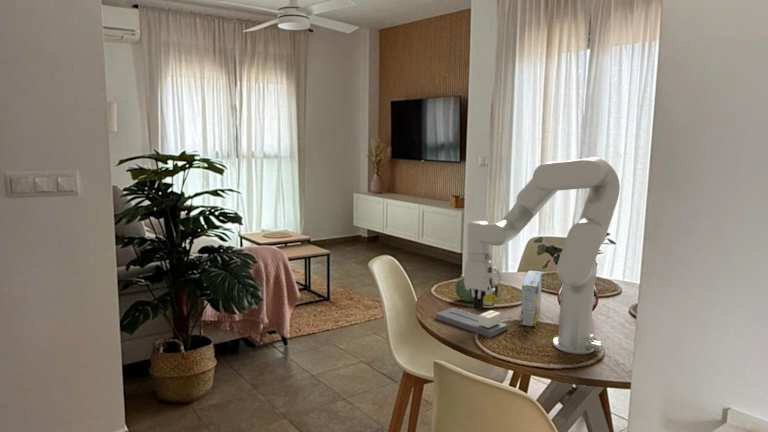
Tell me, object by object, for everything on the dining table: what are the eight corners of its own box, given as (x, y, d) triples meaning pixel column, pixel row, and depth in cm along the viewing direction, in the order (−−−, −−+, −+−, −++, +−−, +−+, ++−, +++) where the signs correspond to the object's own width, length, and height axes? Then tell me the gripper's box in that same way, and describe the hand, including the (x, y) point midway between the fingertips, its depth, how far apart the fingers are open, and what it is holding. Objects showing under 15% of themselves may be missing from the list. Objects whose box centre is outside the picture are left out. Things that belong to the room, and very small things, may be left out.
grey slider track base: (507, 330, 179) (507, 324, 178) (490, 337, 172) (490, 331, 172) (453, 312, 196) (453, 307, 196) (435, 318, 189) (435, 313, 189)
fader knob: (500, 322, 179) (500, 312, 178) (488, 327, 174) (488, 317, 173) (490, 319, 182) (491, 309, 181) (478, 324, 177) (479, 314, 176)
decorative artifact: (478, 299, 212) (479, 275, 210) (481, 305, 205) (483, 280, 203) (454, 299, 212) (455, 275, 210) (456, 304, 205) (457, 280, 203)
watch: (502, 293, 220) (503, 268, 218) (483, 293, 220) (484, 268, 218) (500, 290, 225) (501, 265, 223) (481, 289, 226) (482, 264, 224)
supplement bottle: (494, 308, 201) (495, 284, 199) (480, 307, 202) (481, 283, 200) (494, 304, 206) (495, 280, 205) (480, 303, 207) (481, 279, 206)
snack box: (525, 307, 203) (528, 269, 201) (540, 309, 201) (543, 271, 199) (519, 325, 184) (521, 284, 181) (535, 327, 182) (538, 286, 179)
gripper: (503, 258, 176) (502, 310, 178) (467, 252, 187) (468, 301, 189) (490, 262, 171) (489, 315, 173) (454, 255, 181) (454, 306, 184)
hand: (478, 308), depth 181 cm, fingers closed
